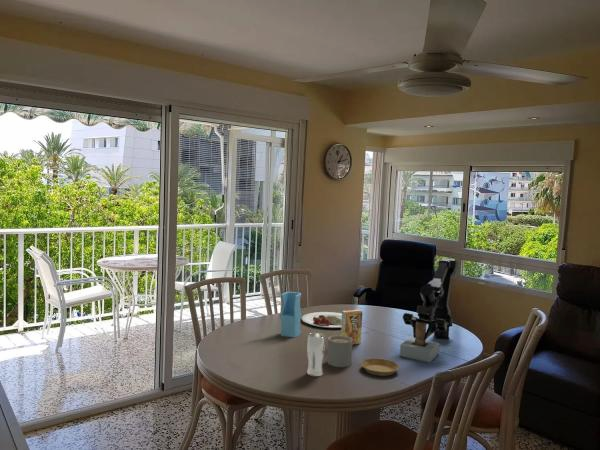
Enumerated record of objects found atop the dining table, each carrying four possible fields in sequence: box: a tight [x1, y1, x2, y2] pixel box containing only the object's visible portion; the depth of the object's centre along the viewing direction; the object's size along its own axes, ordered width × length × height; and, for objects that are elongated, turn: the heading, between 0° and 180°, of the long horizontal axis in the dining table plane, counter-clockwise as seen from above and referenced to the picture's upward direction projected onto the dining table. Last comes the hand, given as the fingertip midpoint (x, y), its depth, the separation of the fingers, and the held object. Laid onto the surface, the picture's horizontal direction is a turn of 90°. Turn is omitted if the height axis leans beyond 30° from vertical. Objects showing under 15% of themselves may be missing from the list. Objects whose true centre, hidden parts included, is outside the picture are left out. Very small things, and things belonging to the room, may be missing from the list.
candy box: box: [340, 309, 363, 345], centre depth 223 cm, size 9×4×15 cm, turn 116°
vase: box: [279, 291, 303, 338], centre depth 233 cm, size 8×8×20 cm
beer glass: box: [306, 332, 326, 377], centre depth 184 cm, size 7×7×15 cm
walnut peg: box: [415, 322, 427, 347], centre depth 210 cm, size 4×4×13 cm
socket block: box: [399, 337, 440, 363], centre depth 211 cm, size 13×13×5 cm
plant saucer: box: [360, 358, 400, 377], centre depth 191 cm, size 15×15×3 cm
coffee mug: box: [326, 334, 353, 368], centre depth 199 cm, size 13×10×10 cm
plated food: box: [301, 311, 342, 329], centre depth 259 cm, size 30×30×3 cm
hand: (419, 338), depth 209 cm, fingers closed on walnut peg, 4 cm apart
